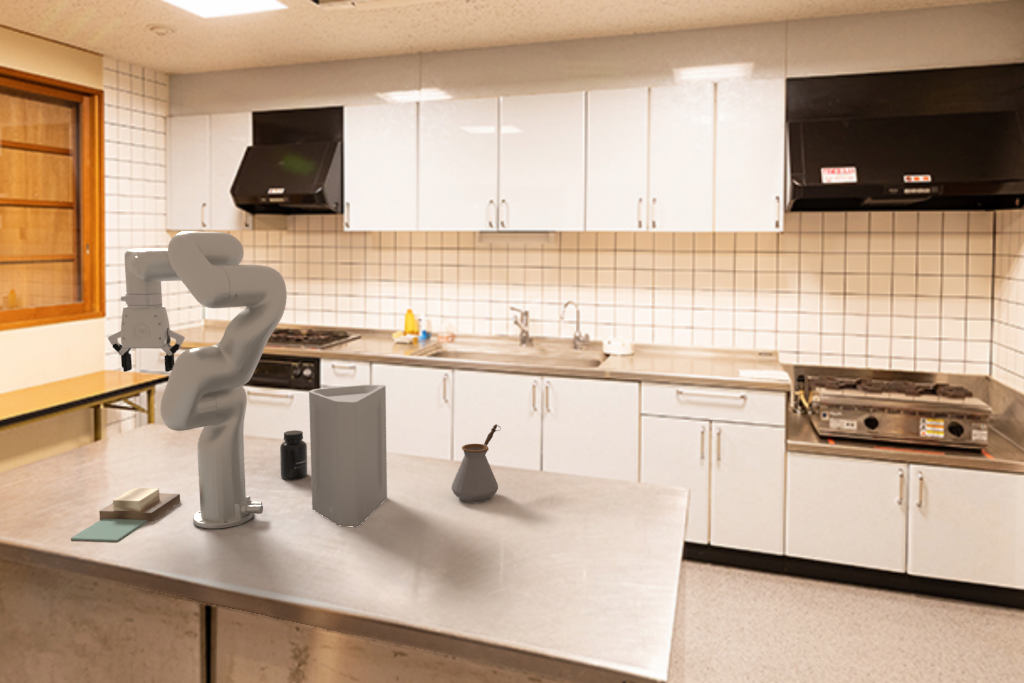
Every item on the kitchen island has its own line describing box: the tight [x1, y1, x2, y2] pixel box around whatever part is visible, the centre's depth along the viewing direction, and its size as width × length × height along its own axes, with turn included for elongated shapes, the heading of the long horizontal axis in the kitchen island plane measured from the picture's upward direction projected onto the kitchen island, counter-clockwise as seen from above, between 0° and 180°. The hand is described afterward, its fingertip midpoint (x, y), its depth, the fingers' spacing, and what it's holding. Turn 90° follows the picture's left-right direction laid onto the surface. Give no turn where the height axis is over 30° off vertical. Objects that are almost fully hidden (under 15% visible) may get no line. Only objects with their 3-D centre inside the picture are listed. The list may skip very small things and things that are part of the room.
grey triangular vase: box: [308, 384, 388, 528], centre depth 164 cm, size 19×15×28 cm
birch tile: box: [112, 487, 160, 511], centre depth 162 cm, size 6×8×2 cm
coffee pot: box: [451, 424, 502, 504], centre depth 178 cm, size 21×12×15 cm, turn 161°
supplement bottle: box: [279, 429, 308, 481], centre depth 188 cm, size 7×7×12 cm
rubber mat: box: [70, 518, 148, 542], centre depth 152 cm, size 10×11×1 cm
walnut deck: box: [98, 492, 181, 522], centre depth 163 cm, size 12×12×2 cm
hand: (148, 370), depth 173 cm, fingers open, 9 cm apart
